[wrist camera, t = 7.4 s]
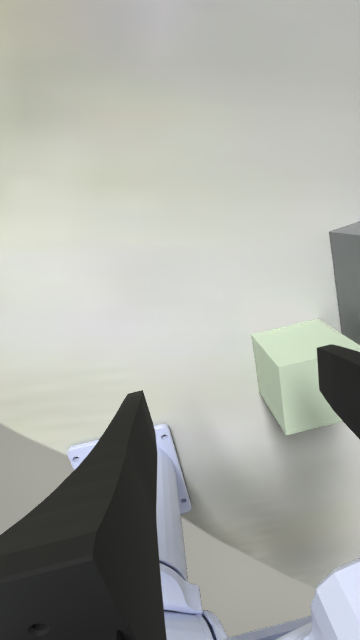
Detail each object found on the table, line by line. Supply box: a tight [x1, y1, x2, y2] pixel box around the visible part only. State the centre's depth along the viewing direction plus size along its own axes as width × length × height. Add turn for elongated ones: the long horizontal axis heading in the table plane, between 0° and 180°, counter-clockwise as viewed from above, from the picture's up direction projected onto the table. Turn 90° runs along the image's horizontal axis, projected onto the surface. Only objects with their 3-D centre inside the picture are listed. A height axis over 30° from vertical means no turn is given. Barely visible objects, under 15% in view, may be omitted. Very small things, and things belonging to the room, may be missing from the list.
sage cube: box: [251, 319, 360, 435], centre depth 21 cm, size 5×5×5 cm
